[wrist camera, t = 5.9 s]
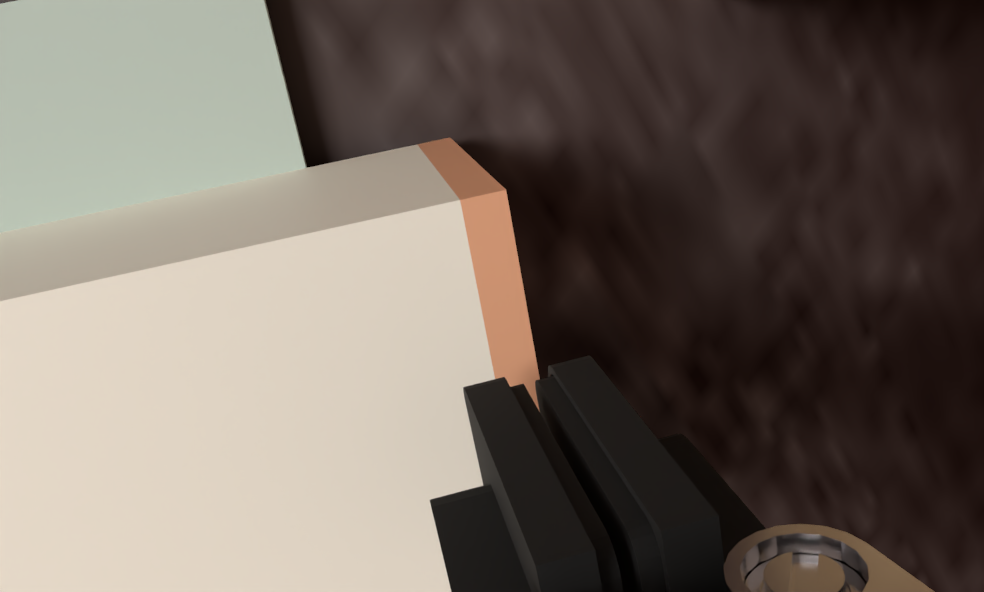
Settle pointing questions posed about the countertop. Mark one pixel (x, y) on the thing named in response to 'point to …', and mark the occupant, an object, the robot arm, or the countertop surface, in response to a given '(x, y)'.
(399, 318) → the cream block
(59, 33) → the mat
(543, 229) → the countertop surface
